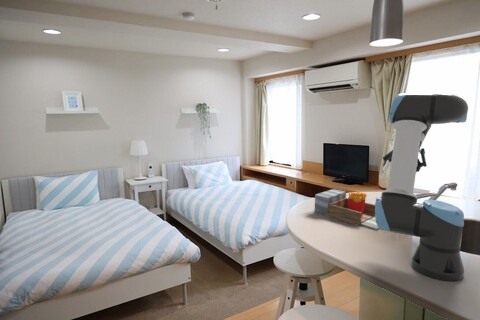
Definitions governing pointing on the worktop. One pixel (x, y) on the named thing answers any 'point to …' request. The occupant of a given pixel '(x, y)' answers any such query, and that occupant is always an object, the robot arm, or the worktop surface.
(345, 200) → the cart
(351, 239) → the worktop surface
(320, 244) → the worktop surface
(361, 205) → the french fries
